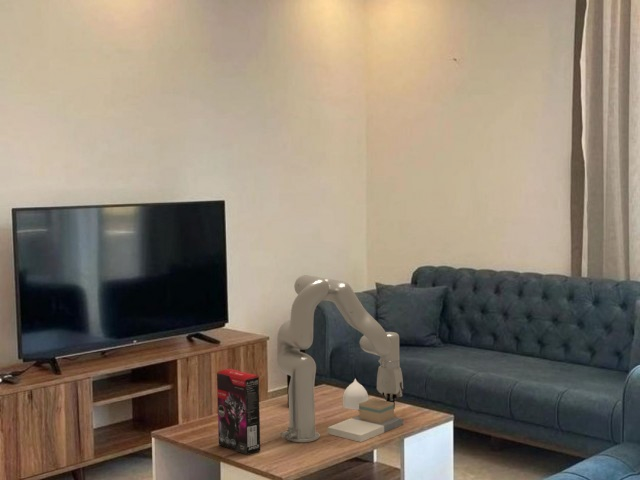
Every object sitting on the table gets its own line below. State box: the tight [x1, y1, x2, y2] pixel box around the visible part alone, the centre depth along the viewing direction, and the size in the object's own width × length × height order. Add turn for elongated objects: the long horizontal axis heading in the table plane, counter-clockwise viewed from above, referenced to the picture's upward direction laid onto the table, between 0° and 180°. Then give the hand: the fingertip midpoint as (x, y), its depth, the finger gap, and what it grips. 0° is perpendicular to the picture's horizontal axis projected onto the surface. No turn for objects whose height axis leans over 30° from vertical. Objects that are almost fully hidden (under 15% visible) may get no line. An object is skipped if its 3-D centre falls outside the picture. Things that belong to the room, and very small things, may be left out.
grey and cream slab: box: [326, 414, 404, 443], centre depth 303 cm, size 26×16×2 cm, turn 139°
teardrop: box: [342, 378, 369, 411], centre depth 334 cm, size 11×11×12 cm
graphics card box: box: [216, 368, 261, 455], centre depth 283 cm, size 17×7×27 cm, turn 45°
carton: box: [358, 398, 395, 423], centre depth 308 cm, size 9×10×6 cm
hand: (390, 409), depth 315 cm, fingers closed
